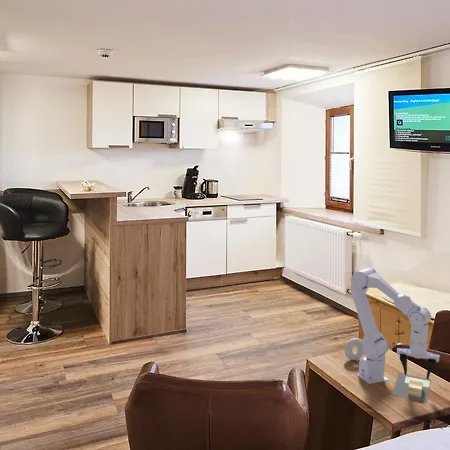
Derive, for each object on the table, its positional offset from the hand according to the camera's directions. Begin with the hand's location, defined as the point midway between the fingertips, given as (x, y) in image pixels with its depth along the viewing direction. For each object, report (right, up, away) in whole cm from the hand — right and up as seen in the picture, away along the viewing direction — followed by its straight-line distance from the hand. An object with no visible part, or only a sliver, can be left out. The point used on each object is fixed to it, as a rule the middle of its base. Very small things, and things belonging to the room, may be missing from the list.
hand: (416, 375), depth 178 cm
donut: (-15, -3, +29) cm, 33 cm away
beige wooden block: (0, -6, +1) cm, 6 cm away
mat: (0, -6, +5) cm, 8 cm away
